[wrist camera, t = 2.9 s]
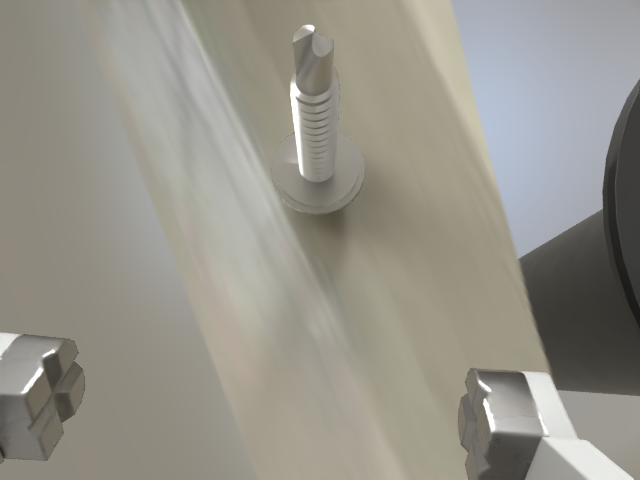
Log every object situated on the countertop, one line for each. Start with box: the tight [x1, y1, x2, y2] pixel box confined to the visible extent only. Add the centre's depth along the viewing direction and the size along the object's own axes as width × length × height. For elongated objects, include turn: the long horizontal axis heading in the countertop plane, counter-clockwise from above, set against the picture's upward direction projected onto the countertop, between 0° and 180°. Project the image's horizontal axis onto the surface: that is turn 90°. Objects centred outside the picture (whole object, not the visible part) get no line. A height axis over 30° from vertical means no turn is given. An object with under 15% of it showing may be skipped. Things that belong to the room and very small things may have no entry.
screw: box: [271, 25, 365, 215], centre depth 22 cm, size 13×5×5 cm
